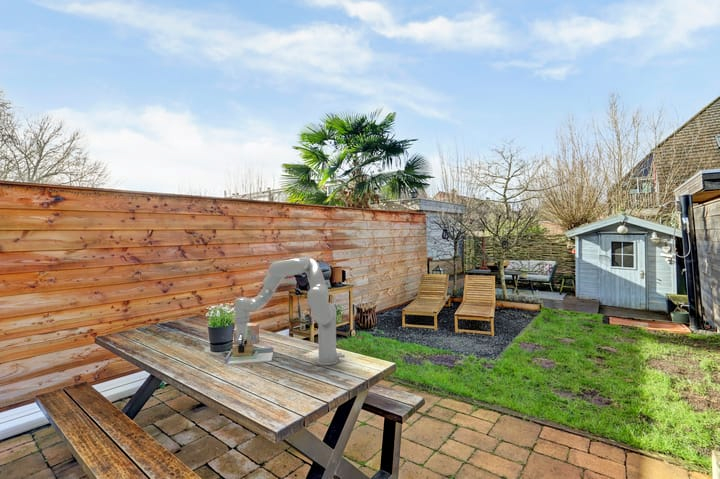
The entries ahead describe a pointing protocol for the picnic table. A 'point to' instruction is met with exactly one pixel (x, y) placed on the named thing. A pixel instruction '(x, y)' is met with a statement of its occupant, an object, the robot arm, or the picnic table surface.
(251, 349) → the ochre block
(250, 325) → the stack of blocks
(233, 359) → the arena
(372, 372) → the picnic table surface
